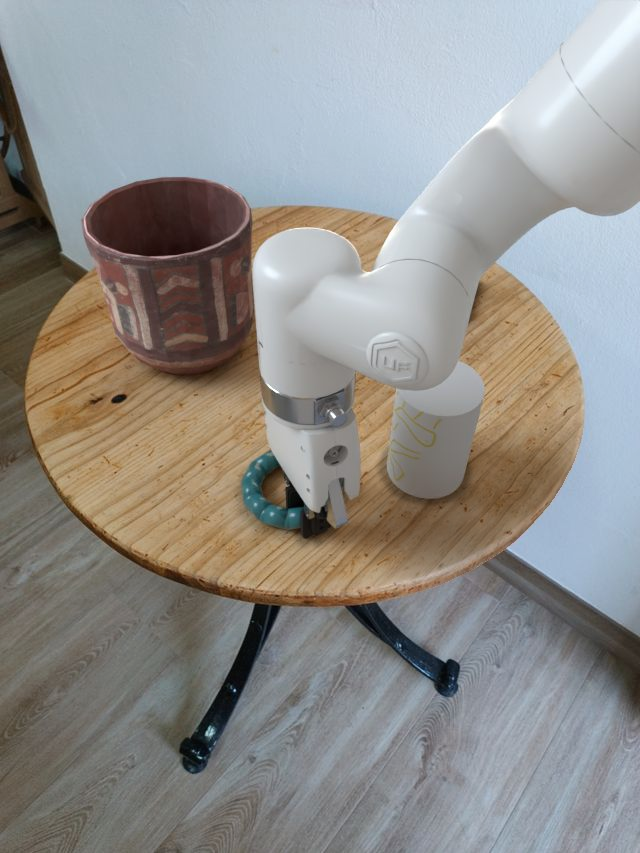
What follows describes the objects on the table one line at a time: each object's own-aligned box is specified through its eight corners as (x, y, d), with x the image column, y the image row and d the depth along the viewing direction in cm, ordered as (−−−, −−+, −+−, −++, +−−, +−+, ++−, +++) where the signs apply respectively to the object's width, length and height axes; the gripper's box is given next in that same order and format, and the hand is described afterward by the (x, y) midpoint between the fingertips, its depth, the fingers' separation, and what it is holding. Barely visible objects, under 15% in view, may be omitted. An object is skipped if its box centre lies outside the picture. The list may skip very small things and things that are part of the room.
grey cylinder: (375, 449, 74) (383, 366, 66) (443, 432, 76) (460, 349, 68) (404, 507, 69) (418, 424, 60) (477, 487, 71) (500, 405, 62)
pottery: (200, 285, 95) (181, 159, 82) (288, 343, 87) (283, 212, 73) (89, 344, 86) (49, 213, 73) (175, 415, 78) (147, 281, 65)
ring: (352, 467, 73) (352, 455, 71) (323, 544, 66) (323, 532, 65) (263, 446, 75) (262, 433, 73) (227, 517, 68) (225, 505, 67)
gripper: (402, 432, 51) (384, 566, 64) (303, 314, 61) (305, 452, 74) (313, 469, 49) (313, 600, 62) (225, 339, 58) (241, 477, 72)
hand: (309, 518), depth 68 cm, fingers closed on ring, 2 cm apart
